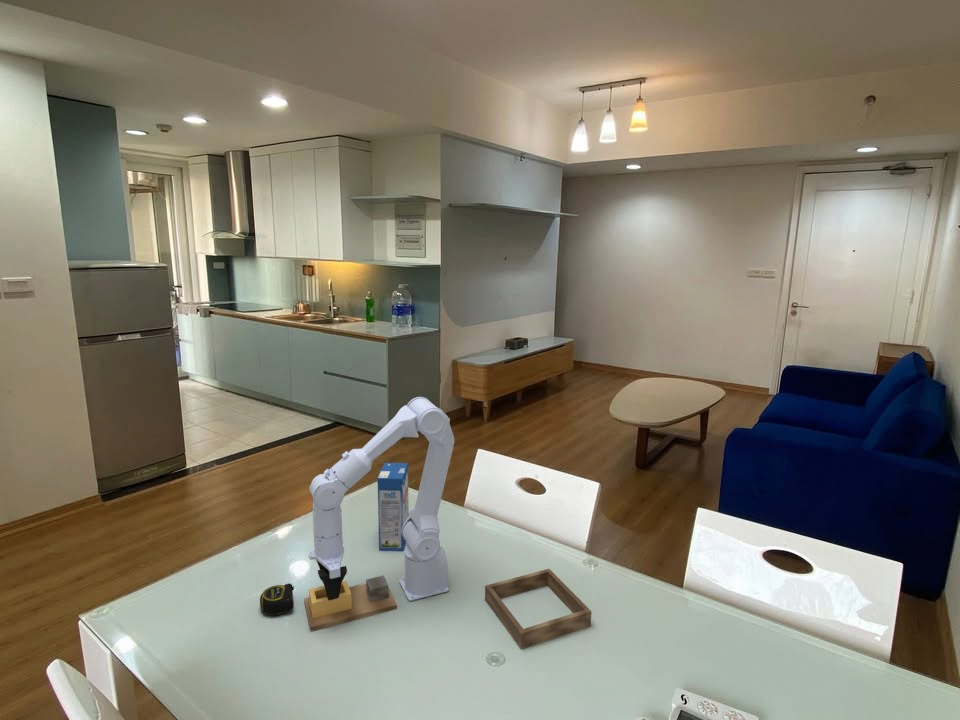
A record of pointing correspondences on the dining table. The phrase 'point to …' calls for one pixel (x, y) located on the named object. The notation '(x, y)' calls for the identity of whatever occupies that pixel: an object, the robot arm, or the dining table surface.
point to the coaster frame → (543, 630)
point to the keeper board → (357, 604)
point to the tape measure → (277, 599)
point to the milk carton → (392, 505)
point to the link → (329, 601)
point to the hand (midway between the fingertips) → (330, 589)
